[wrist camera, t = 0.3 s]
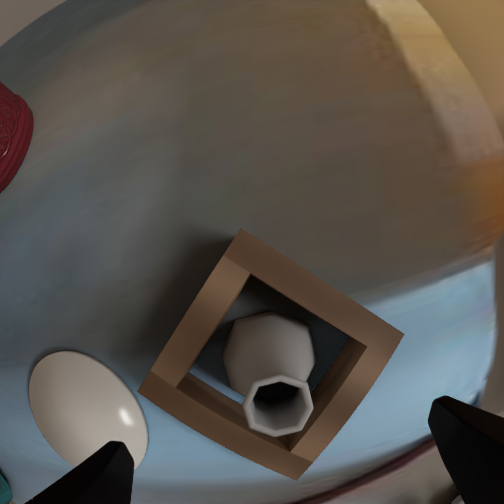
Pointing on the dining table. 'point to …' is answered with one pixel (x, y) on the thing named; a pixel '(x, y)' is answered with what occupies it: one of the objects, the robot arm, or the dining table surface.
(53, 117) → the dining table surface
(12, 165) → the canister
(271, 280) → the walnut collar
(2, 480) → the beverage bottle
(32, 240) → the dining table surface
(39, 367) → the ceramic plate
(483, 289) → the dining table surface
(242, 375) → the flask
